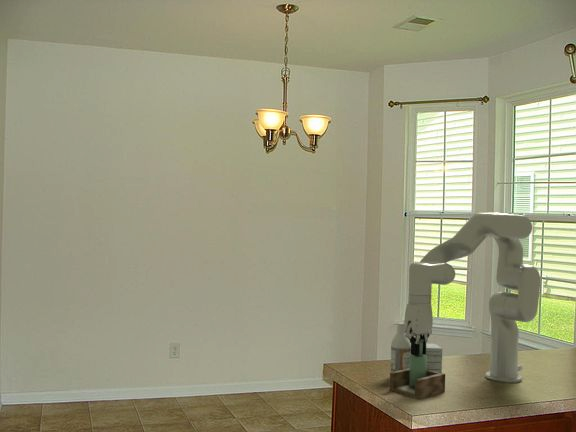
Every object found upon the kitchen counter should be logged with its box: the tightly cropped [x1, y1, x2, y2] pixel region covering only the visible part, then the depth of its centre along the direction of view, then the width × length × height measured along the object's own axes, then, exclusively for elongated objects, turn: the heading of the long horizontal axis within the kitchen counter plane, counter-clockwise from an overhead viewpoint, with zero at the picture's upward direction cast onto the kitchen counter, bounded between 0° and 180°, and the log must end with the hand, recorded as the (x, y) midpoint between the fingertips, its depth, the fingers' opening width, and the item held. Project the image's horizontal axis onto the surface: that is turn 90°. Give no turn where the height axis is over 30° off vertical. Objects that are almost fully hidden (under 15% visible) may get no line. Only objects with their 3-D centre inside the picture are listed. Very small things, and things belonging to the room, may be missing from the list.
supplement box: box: [426, 343, 443, 373], centre depth 218 cm, size 7×7×13 cm
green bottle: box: [409, 338, 427, 386], centre depth 204 cm, size 6×6×15 cm
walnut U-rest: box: [389, 368, 446, 400], centre depth 204 cm, size 14×12×6 cm
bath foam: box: [389, 322, 411, 373], centre depth 220 cm, size 7×7×20 cm
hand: (418, 354), depth 204 cm, fingers closed on green bottle, 2 cm apart
